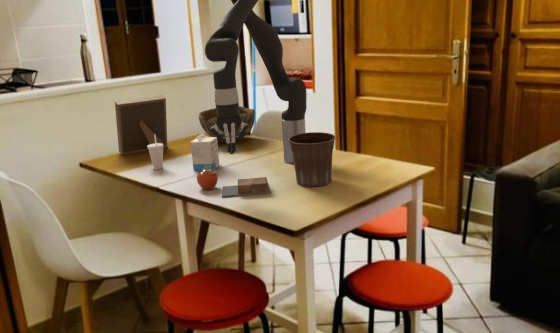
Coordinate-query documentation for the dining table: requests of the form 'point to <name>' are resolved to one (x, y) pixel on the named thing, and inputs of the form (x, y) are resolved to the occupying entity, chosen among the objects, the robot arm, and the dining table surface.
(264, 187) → the walnut slab
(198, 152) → the milk carton
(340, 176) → the dining table surface
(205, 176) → the tomato
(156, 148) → the smoothie
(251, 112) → the bowl
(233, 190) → the mat
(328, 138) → the plant pot
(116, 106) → the photo frame
